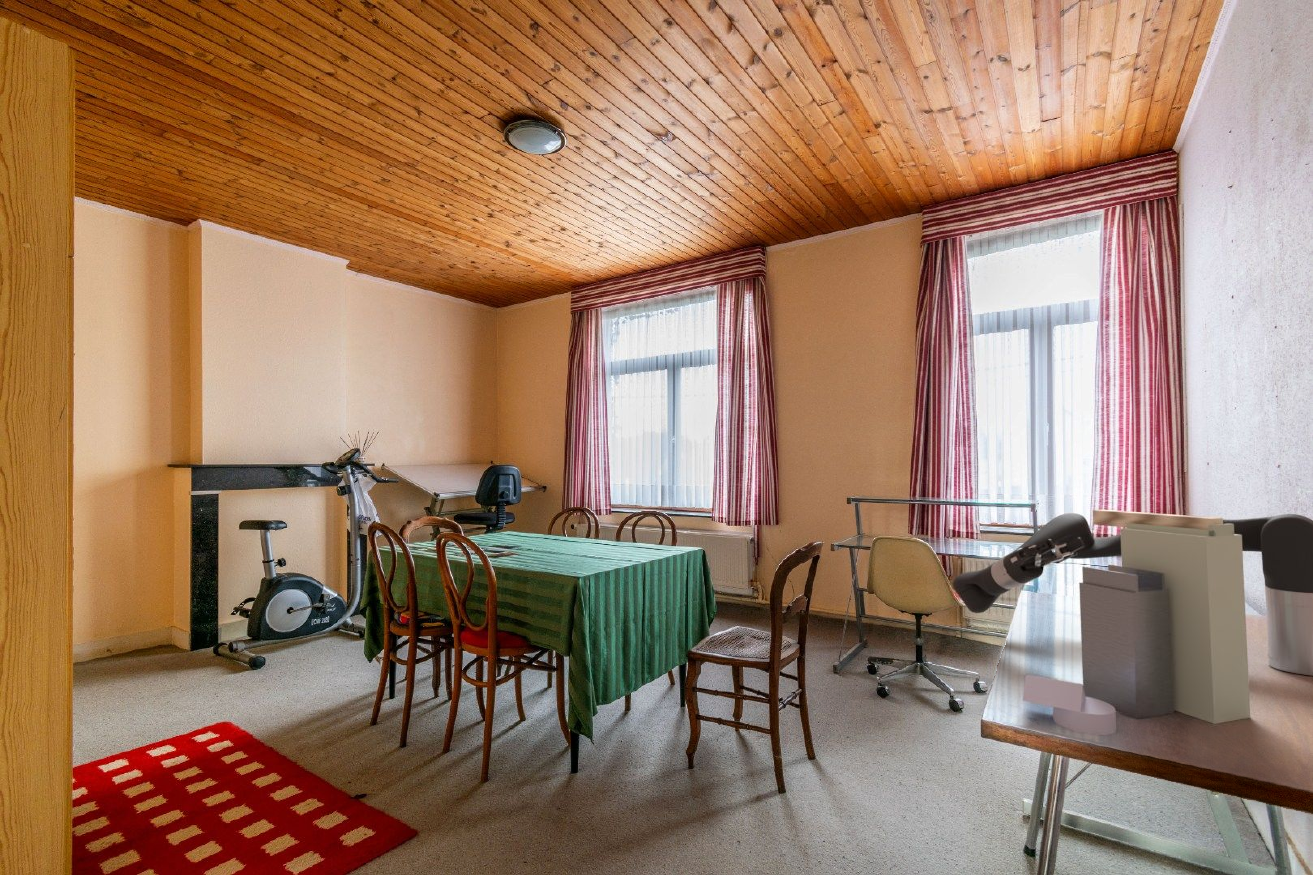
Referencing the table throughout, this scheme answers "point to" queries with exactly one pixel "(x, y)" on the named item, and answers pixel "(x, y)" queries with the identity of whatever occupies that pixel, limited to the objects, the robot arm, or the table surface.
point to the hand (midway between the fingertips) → (1067, 542)
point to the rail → (1152, 519)
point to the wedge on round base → (1071, 705)
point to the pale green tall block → (1200, 613)
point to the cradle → (1127, 640)
